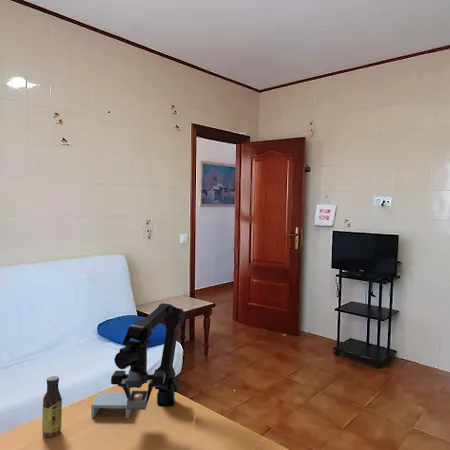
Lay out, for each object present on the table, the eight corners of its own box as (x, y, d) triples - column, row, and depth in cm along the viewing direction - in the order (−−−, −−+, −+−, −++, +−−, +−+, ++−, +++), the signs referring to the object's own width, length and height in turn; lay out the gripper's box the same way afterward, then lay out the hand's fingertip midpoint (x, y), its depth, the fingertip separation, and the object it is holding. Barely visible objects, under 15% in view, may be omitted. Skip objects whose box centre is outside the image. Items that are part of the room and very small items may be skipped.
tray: (149, 398, 145) (149, 390, 145) (145, 409, 137) (145, 401, 137) (131, 398, 145) (131, 390, 145) (126, 409, 137) (126, 401, 137)
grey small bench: (133, 405, 157) (134, 392, 157) (128, 419, 147) (128, 405, 147) (99, 405, 157) (99, 392, 157) (91, 419, 147) (91, 405, 147)
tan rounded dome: (143, 400, 142) (143, 393, 142) (141, 404, 139) (142, 398, 139) (134, 399, 142) (135, 393, 142) (133, 404, 139) (133, 397, 139)
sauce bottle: (54, 439, 134) (54, 383, 133) (38, 437, 135) (38, 381, 134) (65, 428, 140) (65, 375, 139) (50, 426, 142) (50, 373, 140)
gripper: (106, 367, 132) (106, 412, 133) (161, 368, 132) (160, 412, 133) (115, 354, 143) (114, 395, 144) (165, 355, 143) (165, 396, 144)
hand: (138, 400), depth 141 cm, fingers closed on tray, 6 cm apart
